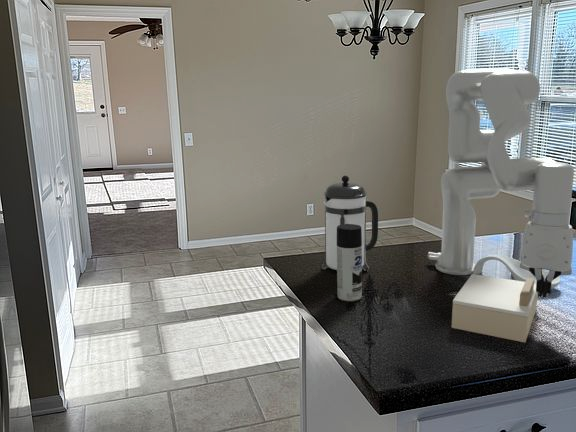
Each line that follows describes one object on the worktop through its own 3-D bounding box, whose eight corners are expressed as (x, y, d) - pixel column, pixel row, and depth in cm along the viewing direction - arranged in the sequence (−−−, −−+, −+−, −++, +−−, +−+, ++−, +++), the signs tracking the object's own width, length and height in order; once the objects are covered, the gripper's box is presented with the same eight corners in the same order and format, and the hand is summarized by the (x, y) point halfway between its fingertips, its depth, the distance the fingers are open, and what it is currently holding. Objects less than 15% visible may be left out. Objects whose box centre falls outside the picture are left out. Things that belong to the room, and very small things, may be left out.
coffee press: (368, 280, 155) (369, 180, 148) (316, 275, 160) (314, 178, 153) (377, 262, 171) (379, 171, 164) (330, 258, 176) (329, 169, 169)
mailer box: (451, 327, 124) (452, 303, 122) (470, 298, 140) (471, 277, 139) (525, 342, 116) (527, 317, 114) (536, 309, 132) (538, 287, 131)
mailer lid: (452, 303, 122) (453, 289, 121) (471, 276, 139) (472, 264, 138) (527, 316, 114) (528, 302, 113) (538, 286, 131) (539, 274, 130)
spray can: (355, 303, 139) (355, 230, 134) (332, 299, 142) (332, 227, 138) (365, 295, 144) (366, 224, 140) (343, 291, 148) (343, 222, 143)
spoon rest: (565, 287, 147) (568, 263, 145) (550, 299, 139) (552, 274, 137) (483, 269, 163) (485, 247, 161) (466, 279, 155) (467, 256, 153)
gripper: (511, 218, 117) (505, 295, 122) (588, 225, 110) (578, 307, 114) (516, 211, 124) (510, 285, 128) (589, 218, 116) (580, 295, 120)
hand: (542, 295), depth 121 cm, fingers closed
